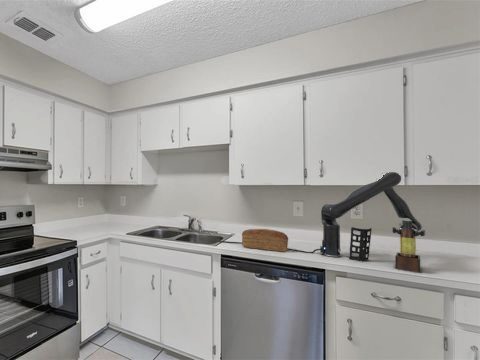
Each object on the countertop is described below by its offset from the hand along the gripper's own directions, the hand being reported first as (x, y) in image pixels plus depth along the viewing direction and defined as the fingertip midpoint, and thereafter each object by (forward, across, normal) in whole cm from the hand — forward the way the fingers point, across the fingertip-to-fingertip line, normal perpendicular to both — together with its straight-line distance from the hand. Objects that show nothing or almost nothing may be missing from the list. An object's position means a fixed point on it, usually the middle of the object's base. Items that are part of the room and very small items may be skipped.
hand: (407, 233), depth 143 cm
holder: (-3, -21, +20) cm, 29 cm away
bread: (+12, -74, +20) cm, 77 cm away
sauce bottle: (-2, 0, +13) cm, 13 cm away
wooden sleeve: (-2, 0, +20) cm, 20 cm away
